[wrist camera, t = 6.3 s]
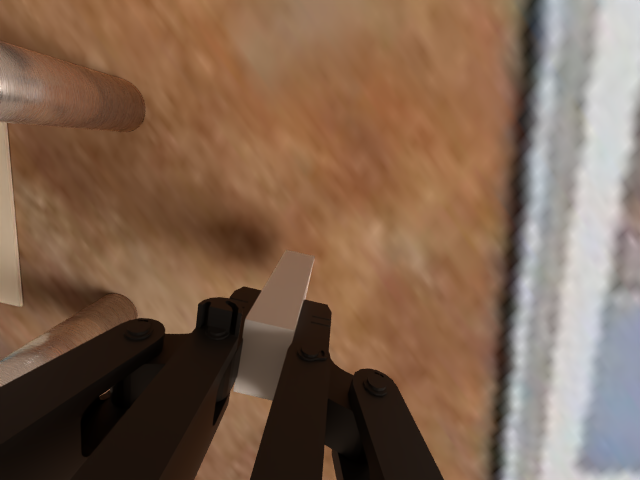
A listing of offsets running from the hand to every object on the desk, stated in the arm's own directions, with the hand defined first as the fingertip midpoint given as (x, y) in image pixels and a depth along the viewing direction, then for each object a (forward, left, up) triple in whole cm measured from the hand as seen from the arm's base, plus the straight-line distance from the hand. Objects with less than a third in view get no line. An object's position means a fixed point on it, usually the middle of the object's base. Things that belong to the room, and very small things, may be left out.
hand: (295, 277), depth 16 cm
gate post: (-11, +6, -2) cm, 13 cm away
